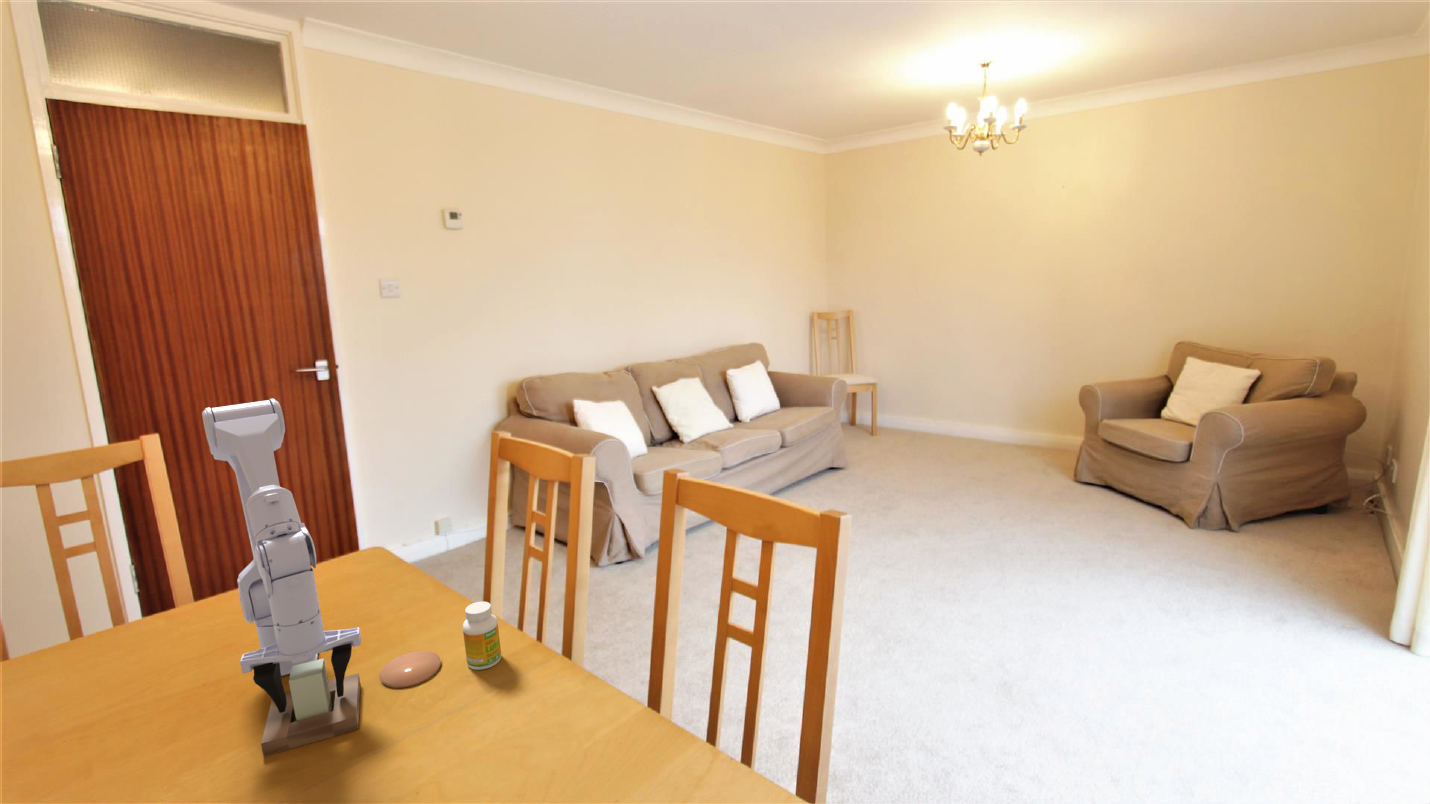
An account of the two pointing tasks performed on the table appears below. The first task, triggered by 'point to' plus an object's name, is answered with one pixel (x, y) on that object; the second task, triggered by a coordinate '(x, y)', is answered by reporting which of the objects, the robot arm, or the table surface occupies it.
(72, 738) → the table surface
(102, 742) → the table surface
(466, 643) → the supplement bottle
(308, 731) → the block
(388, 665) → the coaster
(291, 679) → the peg
